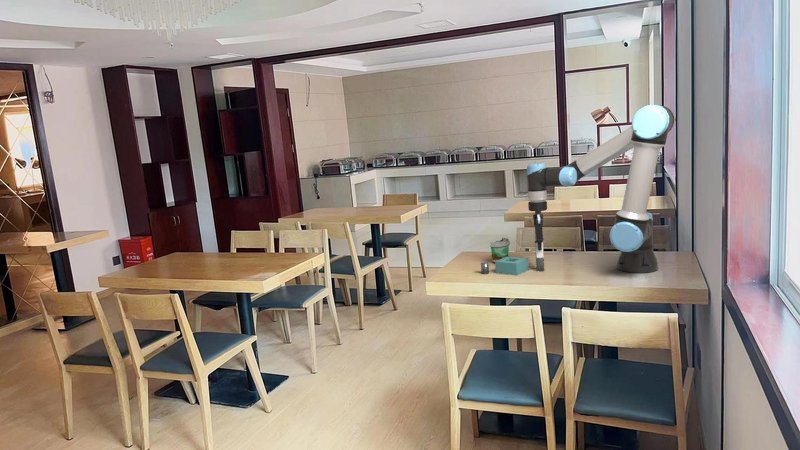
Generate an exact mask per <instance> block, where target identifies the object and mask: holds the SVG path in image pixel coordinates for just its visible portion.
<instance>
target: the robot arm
mask: <svg viewBox="0 0 800 450" xmlns="http://www.w3.org/2000/svg"><path fill="white" fill-rule="evenodd" d="M674 125H675V115H674V113H673V111H672V110H671V109H670V108H669V107H667V106H664V105H660V104H649V105H648V104H647V105H645V106H643V107H641V108H640V109H638V110H637V111H636V112H635V114H634V115H633V117H632V121H631V126H630V127H628V128H627V129H626V128H625V130H623V131H622V132H619V133H618V134H617V135H615V136H613V137H611V138H610V139H608V140H607V141H605V142H604V143H602V144H600V145H599V146H597V147H595V148H594V149H592V150H590V151H589V152H587V153H585V154H584V155H582V156H580V157H579V158H577V159H575V160H574V161H571V163H569V164H567V165H564V166H559V167H546V163H544V162H537V163H536V162H535V163H529V164H527V167H526V181H527V193H526V197H527V200H528V203H527V204H528V211H529V212H534V214H533V215H532V217H533V225H534V233H535V235H536V241H534V243H536V246H535V253H536V252H537V258H544V259H545V256H544V257H543V249H544V234H543V233H544V232H543V231H544V230H543V226H544V214H543V213H542V212H544V211H547V209H548V201H547V200H548V195H547V192H548V191H547V187H573V186H575V185H576V183H577V182H578V181H580V180H581V179H583V178H584V177H586V176H588V175H589V174H590V173H593V172H594V171H595V170H597V169H599V168H601V167H603V166H605V165H606V164H608V163H609V162H611V161H613V160H615V159H616V158H618V157H620V156H622V155H623V154H625V153H627V152H628V151H630V150H632V149H633V150H632V151H633V152H632V157H631V162H630V166H629V171H628V176H627V180H626V186H625V192H624V197H623V200H622V201H623V202H622V206H621V209H619V210H618V211H617V212H616V214H615V218H614V224H613V225H612V227H611V228H610V231H609V240H610V243H611V245H612V246H613V247H614V248H615V249H616V250H618V251H620V252H619V253H620V254H619V257H618V260H617V269H618V270H619V271H620V272H624V273H625V272H626V273H633V274H643V273H645V274H646V273H652V272H656V271H658V270H659V263H658V260H657V257H656V254H655V252H654V223H653V222H654V217H653V214H652V213H651V212H648V211H647V209H648V205H649V200H650V195H651V191H652V186H653V183H654V177H655V173H656V168H657V163H658V159H659V153H660V150H661V149H662V148H663V147H665V146H666V142H667V138H668V134H669V132H670V131H671V130H672V129H673V127H674ZM535 235H534V236H535Z"/></svg>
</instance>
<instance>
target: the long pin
mask: <svg viewBox="0 0 800 450" xmlns="http://www.w3.org/2000/svg"><path fill="white" fill-rule="evenodd" d="M534 240H535V241H536V235H534ZM535 241H534V243H535ZM535 247H536V243H535ZM544 250H545V249H544V248H543V257H544V258H537V252H536V251H535V265H536V271H537V272H544V271H545V254H544Z"/></svg>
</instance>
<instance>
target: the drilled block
mask: <svg viewBox="0 0 800 450" xmlns="http://www.w3.org/2000/svg"><path fill="white" fill-rule="evenodd" d="M494 265H495V274H500V273H503V274H502V275H509V274H510V275H511V276H518V275H519V276H520V274H523V273H525V272H527V271H529V270H530V269H529V258H528V257H527V258H526V257H516V256H515V257H514V256H508V257H505V258H503V259H500V260H498V261H495V263H494Z"/></svg>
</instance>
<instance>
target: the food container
mask: <svg viewBox="0 0 800 450" xmlns="http://www.w3.org/2000/svg"><path fill="white" fill-rule="evenodd" d="M489 245H490V246H489V247H490V250H491V251H490V252H491V258H492V259H491V261H492V264H495V261H498V260H500V259H503V258H505V257H509V251H510V250H509V248H510V247H509V246H510V245H511V241H510V239H509V238H508V237H501V239H500V240H496V241H491V242H490V244H489Z"/></svg>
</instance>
